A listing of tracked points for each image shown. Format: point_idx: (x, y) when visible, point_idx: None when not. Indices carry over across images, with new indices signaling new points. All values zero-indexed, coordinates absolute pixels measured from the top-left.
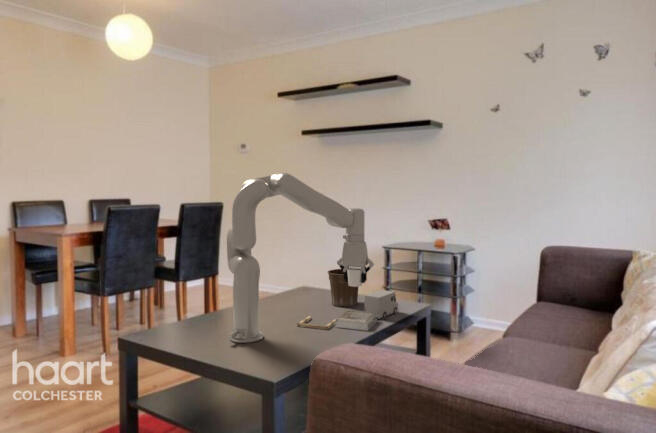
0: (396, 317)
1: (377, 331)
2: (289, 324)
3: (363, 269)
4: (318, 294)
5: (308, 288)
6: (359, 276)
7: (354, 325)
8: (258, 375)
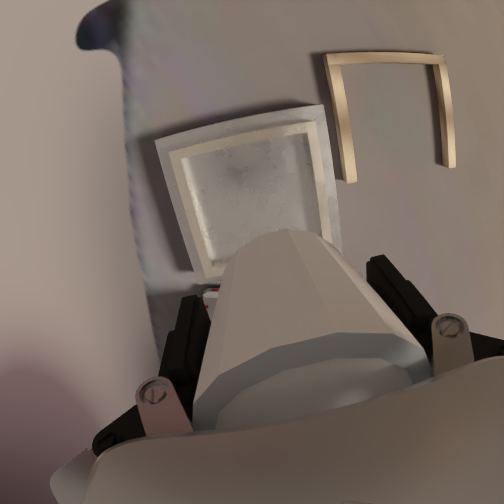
0: None
1: (126, 157)
2: (467, 71)
3: (159, 420)
4: None
5: None
6: (213, 326)
7: (219, 122)
8: None
